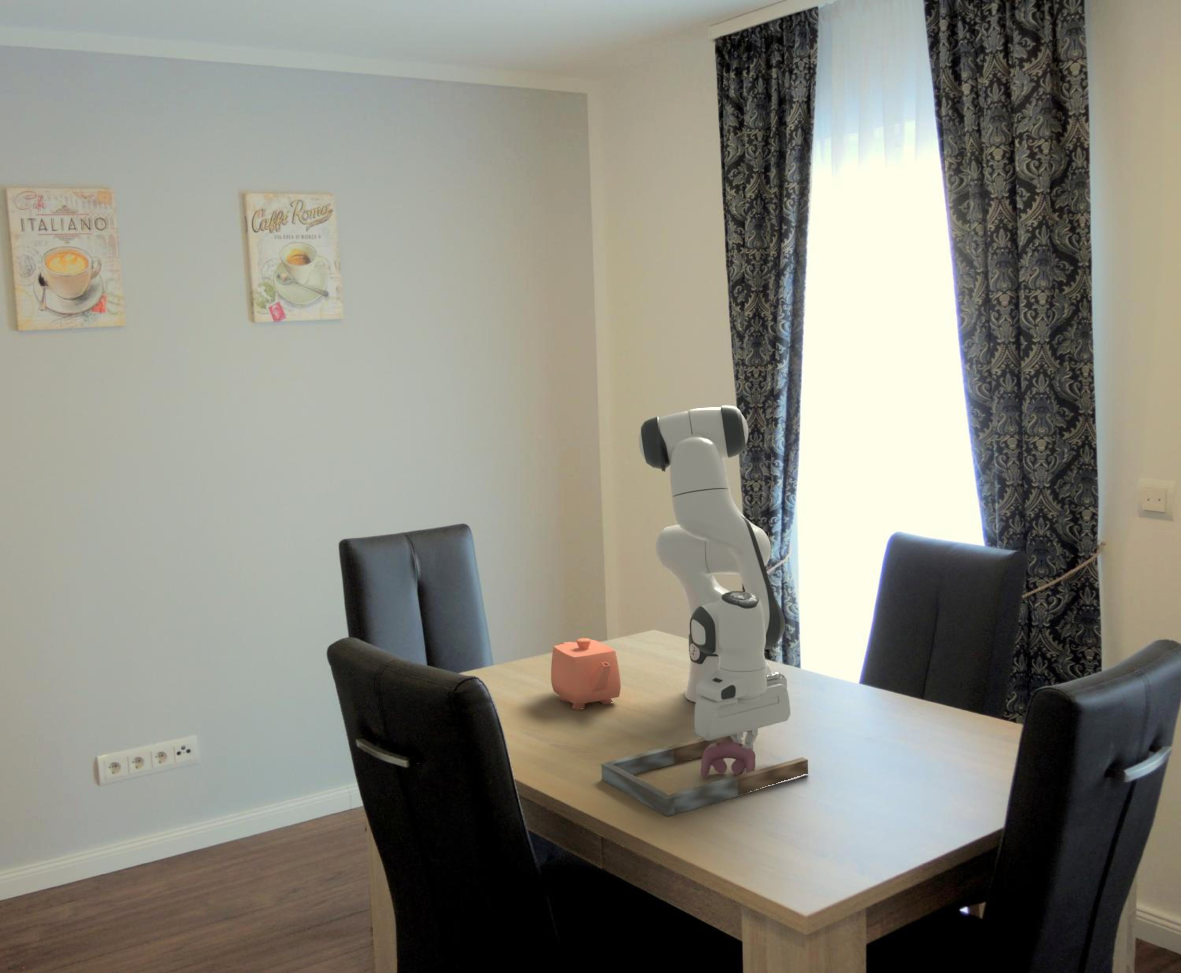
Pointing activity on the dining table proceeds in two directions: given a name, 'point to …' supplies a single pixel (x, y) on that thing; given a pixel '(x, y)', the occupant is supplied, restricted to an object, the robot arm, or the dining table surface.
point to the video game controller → (727, 750)
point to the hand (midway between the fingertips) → (744, 752)
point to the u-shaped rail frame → (670, 804)
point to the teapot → (585, 672)
